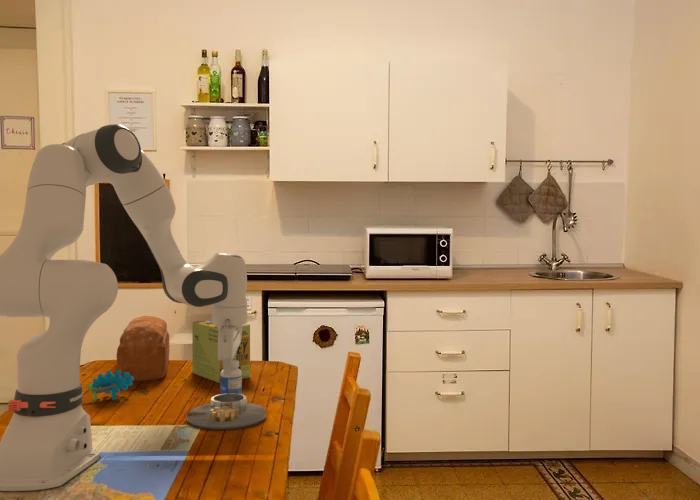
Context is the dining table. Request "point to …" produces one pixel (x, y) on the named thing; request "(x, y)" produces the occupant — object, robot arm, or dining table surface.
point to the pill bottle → (231, 380)
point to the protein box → (216, 351)
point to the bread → (144, 349)
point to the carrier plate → (242, 422)
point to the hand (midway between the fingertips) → (229, 370)
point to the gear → (110, 383)
